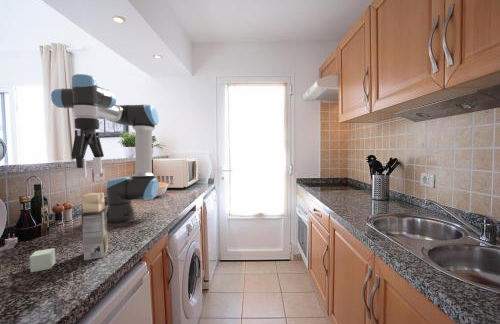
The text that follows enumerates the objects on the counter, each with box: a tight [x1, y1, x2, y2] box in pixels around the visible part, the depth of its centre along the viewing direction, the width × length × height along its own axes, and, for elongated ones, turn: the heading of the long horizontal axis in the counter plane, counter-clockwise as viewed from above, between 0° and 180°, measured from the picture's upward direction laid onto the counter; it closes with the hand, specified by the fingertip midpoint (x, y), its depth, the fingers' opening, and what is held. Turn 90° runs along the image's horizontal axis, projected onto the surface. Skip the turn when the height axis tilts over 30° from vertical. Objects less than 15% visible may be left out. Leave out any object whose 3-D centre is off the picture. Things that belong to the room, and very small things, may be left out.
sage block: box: [29, 247, 56, 273], centre depth 78 cm, size 5×5×5 cm
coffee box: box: [81, 207, 109, 261], centre depth 87 cm, size 9×6×16 cm
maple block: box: [81, 192, 106, 214], centre depth 86 cm, size 5×5×6 cm
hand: (90, 175), depth 89 cm, fingers open, 13 cm apart
